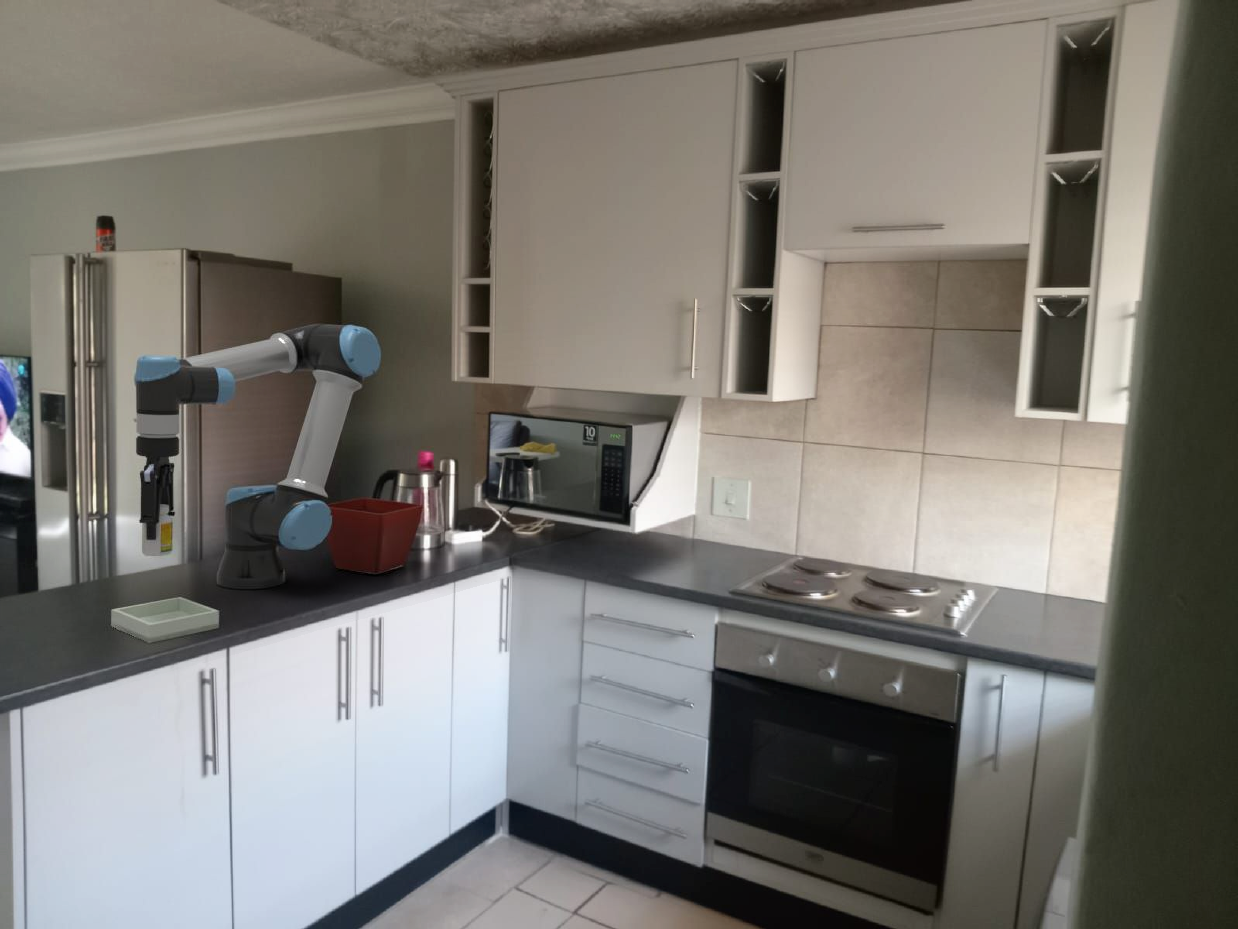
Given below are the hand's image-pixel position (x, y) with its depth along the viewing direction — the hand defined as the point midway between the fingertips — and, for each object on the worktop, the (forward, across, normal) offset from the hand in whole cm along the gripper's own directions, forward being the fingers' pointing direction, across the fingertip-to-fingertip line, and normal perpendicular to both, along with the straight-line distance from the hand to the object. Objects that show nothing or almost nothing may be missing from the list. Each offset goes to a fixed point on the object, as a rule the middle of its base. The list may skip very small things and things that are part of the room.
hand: (157, 551), depth 182 cm
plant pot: (+15, -50, +37) cm, 64 cm away
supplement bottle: (+1, 0, 0) cm, 1 cm away
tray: (+15, +3, +2) cm, 15 cm away
